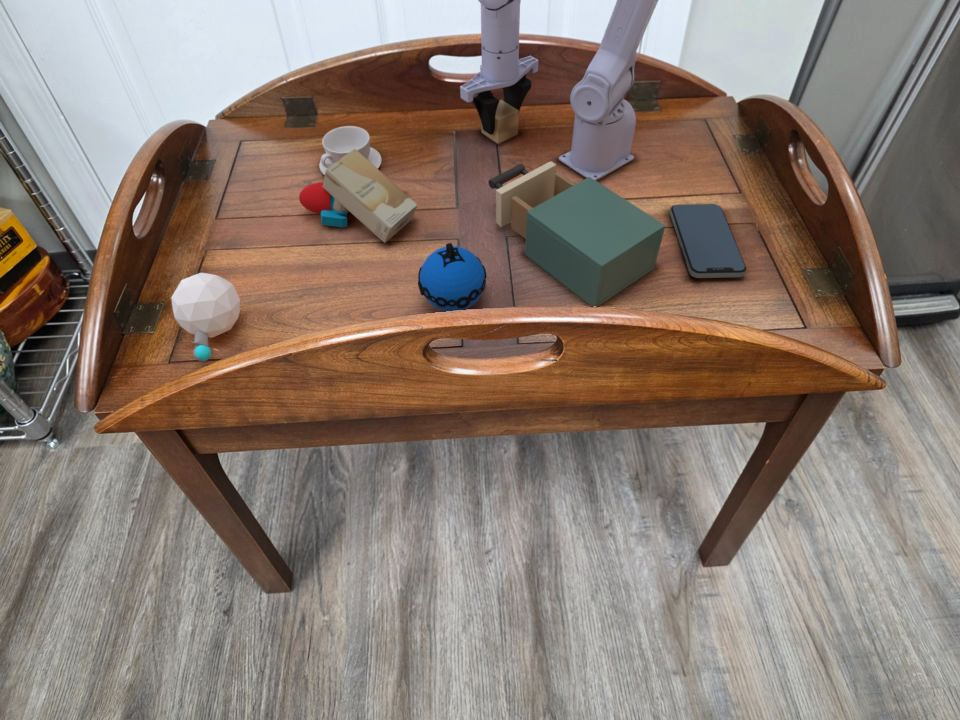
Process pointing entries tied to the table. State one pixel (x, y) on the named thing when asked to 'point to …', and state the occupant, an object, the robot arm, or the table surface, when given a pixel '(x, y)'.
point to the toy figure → (324, 205)
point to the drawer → (525, 193)
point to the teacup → (347, 146)
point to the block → (504, 123)
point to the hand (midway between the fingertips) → (499, 126)
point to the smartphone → (707, 241)
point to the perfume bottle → (205, 309)
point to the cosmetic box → (369, 195)
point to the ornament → (452, 278)
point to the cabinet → (592, 240)
